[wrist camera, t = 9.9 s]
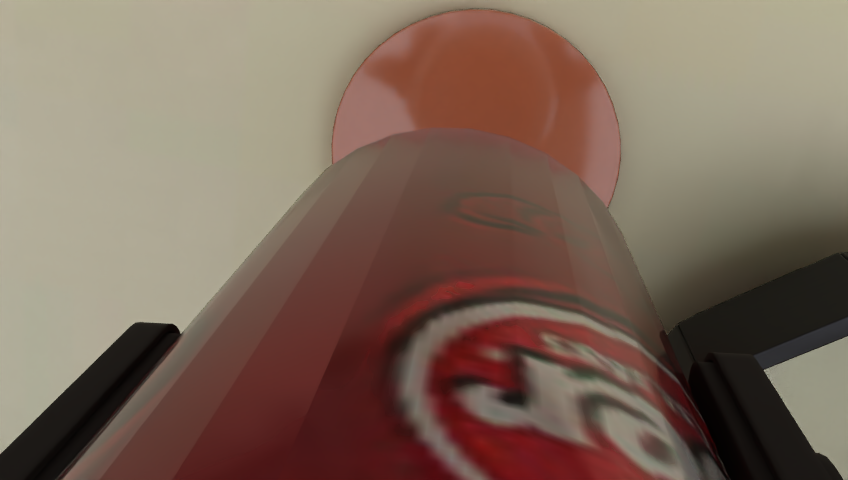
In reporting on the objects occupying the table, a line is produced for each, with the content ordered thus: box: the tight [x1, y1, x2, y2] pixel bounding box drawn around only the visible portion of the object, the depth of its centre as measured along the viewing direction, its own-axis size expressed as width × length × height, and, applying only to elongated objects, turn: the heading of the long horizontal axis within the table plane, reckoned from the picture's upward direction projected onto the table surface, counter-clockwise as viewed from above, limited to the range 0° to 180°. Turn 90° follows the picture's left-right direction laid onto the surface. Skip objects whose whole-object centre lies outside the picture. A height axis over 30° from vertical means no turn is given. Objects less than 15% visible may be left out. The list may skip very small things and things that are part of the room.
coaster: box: [332, 9, 621, 208], centre depth 23 cm, size 10×10×1 cm
